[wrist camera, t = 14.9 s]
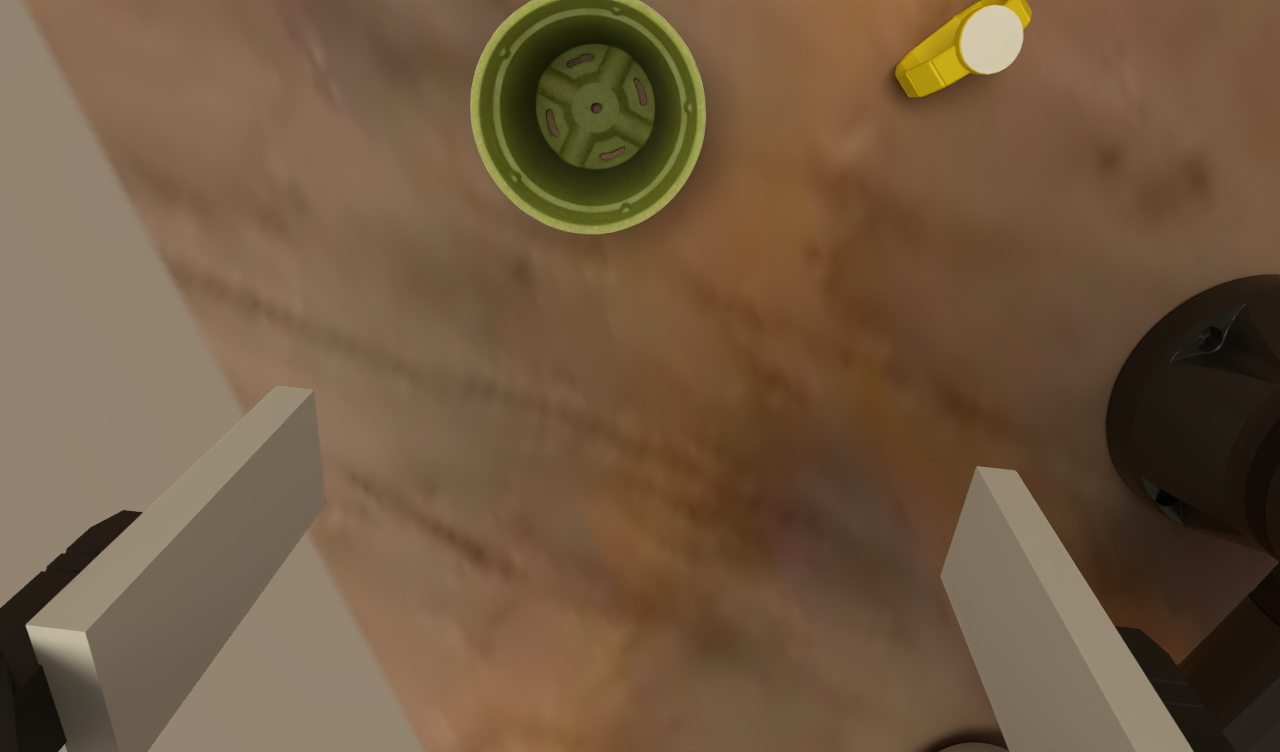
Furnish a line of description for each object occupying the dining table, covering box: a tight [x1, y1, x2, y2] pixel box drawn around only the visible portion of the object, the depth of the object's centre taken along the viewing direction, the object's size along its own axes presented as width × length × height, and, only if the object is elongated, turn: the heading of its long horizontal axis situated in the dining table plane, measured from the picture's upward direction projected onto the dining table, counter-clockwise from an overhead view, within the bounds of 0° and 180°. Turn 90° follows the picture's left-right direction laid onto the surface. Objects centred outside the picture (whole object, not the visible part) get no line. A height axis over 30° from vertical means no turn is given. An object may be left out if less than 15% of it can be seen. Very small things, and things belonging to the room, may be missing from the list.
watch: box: [895, 0, 1032, 98], centre depth 37 cm, size 6×3×6 cm, turn 128°
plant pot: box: [470, 0, 706, 234], centre depth 36 cm, size 9×9×9 cm
